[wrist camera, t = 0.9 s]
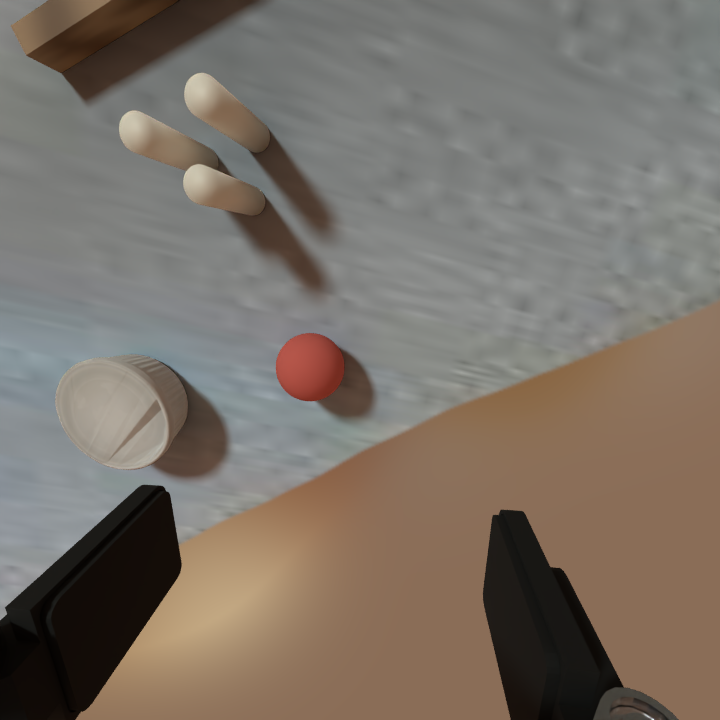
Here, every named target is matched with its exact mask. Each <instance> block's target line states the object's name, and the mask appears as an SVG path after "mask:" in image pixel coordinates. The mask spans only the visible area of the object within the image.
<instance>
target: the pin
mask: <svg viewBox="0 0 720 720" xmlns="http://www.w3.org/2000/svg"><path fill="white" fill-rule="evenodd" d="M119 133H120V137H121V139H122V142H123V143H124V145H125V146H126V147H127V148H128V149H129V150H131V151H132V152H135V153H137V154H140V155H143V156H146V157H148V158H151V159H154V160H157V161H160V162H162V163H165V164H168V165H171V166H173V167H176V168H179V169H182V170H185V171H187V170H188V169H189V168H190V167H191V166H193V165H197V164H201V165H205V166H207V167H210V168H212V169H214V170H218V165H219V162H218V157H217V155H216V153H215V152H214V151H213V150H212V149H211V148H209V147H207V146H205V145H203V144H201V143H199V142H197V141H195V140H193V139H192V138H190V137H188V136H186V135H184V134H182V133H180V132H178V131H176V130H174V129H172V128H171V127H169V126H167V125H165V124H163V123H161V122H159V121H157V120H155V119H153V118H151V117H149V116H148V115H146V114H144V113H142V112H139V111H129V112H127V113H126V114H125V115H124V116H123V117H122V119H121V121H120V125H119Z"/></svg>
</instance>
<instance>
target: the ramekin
mask: <svg viewBox="0 0 720 720" xmlns="http://www.w3.org/2000/svg"><path fill="white" fill-rule="evenodd" d="M55 403H56V409H57V413H58V417H59V419H60V422H61V424H62V426H63V428H64V430H65V432H66V434H67V435H68V437H69V438H70V439H71V440H72V442H73V443H74V444H75V445H76V446H77V447H78V448H79V449H80V450H81V451H82V452H84V453H85V454H86V455H87V456H89V457H90V458H92V459H93V460H95V461H97V462H98V463H101V464H103V465H106V466H108V467H112V468H116V469H123V470H134V469H140V468H144V467H146V466H149V465H151V464H153V463H154V462H156V461H157V460H158V459H159V458H160V457H161V456H163V455H164V453H165V452H166V451H167V450H168V448H169V447H170V445H171V443H172V440H173V439H174V438H175V436H176V435H177V433H178V432H179V431H180V429H181V428H182V426H183V425H184V423H185V420H186V418H187V413H188V400H187V395H186V392H185V389H184V387H183V385H182V383H181V381H180V380H179V378H178V377H177V376H176V375H175V373H174V372H173V371H171V370H170V369H169V368H168V367H167V366H165V365H164V364H162V363H161V362H159V361H157V360H156V359H153V358H150V357H146V356H143V355H137V354H134V355H133V354H129V355H121V356H115V357H109V358H108V357H99V358H93V359H89V360H86V361H83V362H80V363H77V364H76V365H74V366H73V367H71V368H70V369H69V370H68V371H67V372H66V373H65V374H64V375H63V377H62V378H61V380H60V383H59V385H58V388H57V391H56V399H55Z"/></svg>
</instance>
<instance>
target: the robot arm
mask: <svg viewBox="0 0 720 720" xmlns="http://www.w3.org/2000/svg"><path fill="white" fill-rule="evenodd" d="M180 571H181V557H180V551H179V545H178V539H177V533H176V527H175V521H174V515H173V509H172V503H171V497H170V494H169V492H167V491H166V490H165V488H164V487H163V486H155V485H141V486H140V487H138V488H137V489H136V490H135V491H134V492H133V493H132V494H130V495H129V496H128V497H127V498H126V499H125V500H124V501H123V502H122V503H120V504H119V505H118V506H117V507H116V508H115V509H114V510H113V511H112V512H110V513H109V514H108V515H107V516H106V517H105V518H104V519H103V520H102V521H101V522H99V523H98V524H97V525H96V526H95V527H94V528H93V529H92V530H91V531H89V532H88V533H87V534H86V535H85V536H84V537H83V538H82V539H81V540H79V541H78V542H77V543H76V544H75V545H74V546H73V547H72V548H71V549H69V550H68V551H67V552H66V553H65V554H64V555H63V556H62V557H61V558H59V559H58V560H57V561H56V562H55V563H54V564H53V565H52V566H51V567H50V568H48V569H47V570H46V571H45V572H44V573H43V574H42V575H41V576H40V577H38V578H37V579H36V580H35V581H34V582H33V583H32V584H31V585H30V586H28V587H27V588H26V589H25V590H24V591H23V592H22V593H21V594H20V595H18V596H17V597H16V598H15V599H14V600H13V601H12V602H11V603H10V604H8V605H7V606H6V607H5V609H6V611H7V615H6V616H5V617H4V618H3V619H1V620H0V720H75V719H76V718H77V717H78V715H79V713H80V712H81V711H82V712H83V711H85V710H86V709H87V708H88V707H89V706H90V705H91V704H92V703H93V701H94V700H95V698H96V697H97V695H98V694H99V692H100V691H101V689H102V688H103V686H104V685H105V684H106V682H107V680H108V679H109V677H110V676H111V675H112V673H113V672H114V670H115V669H116V667H117V666H118V664H119V663H120V661H121V660H122V659H123V657H124V656H125V654H126V653H127V651H128V650H129V648H130V647H131V645H132V644H133V642H134V641H135V640H136V638H137V636H138V635H139V634H140V632H141V631H142V629H143V628H144V626H145V625H146V623H147V622H148V620H149V619H150V617H151V616H152V615H153V613H154V612H155V610H156V609H157V607H158V606H159V604H160V603H161V601H162V600H163V598H164V597H165V595H166V594H167V593H168V591H169V590H170V588H171V587H172V585H173V584H174V582H175V581H176V579H177V578H178V576H179V574H180ZM483 601H484V607H485V612H486V616H487V620H488V625H489V629H490V633H491V637H492V642H493V646H494V650H495V654H496V658H497V663H498V667H499V671H500V675H501V680H502V684H503V688H504V693H505V697H506V701H507V705H508V710H509V714H510V718H511V720H678V719H677V718H676V716H675V715H674V714H673V713H672V712H670V711H669V710H668V709H667V708H665V707H664V706H663V705H662V704H660V703H659V702H658V701H656V700H654V699H653V698H651V697H649V696H647V695H646V694H644V693H642V692H639V691H636V690H633V689H630V688H624V687H623V685H622V683H621V681H620V679H619V677H618V675H617V673H616V671H615V669H614V667H613V666H612V663H611V661H610V660H609V658H608V656H607V654H606V652H605V650H604V648H603V646H602V644H601V642H600V640H599V638H598V636H597V634H596V632H595V630H594V628H593V626H592V624H591V622H590V620H589V618H588V617H587V615H586V613H585V611H584V609H583V607H582V605H581V603H580V601H579V599H578V597H577V595H576V593H575V591H574V589H573V587H572V585H571V583H570V581H569V579H568V578H567V576H566V574H565V573H564V571H563V570H562V569H560V568H553V567H550V566H549V564H548V562H547V559H546V557H545V555H544V553H543V551H542V549H541V547H540V545H539V542H538V540H537V538H536V536H535V534H534V532H533V530H532V528H531V526H530V524H529V522H528V519H527V517H526V515H525V513H524V512H523V511H513V510H501V511H500V513H499V515H493V517H492V524H491V532H490V540H489V548H488V556H487V564H486V573H485V580H484V588H483Z"/></svg>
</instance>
